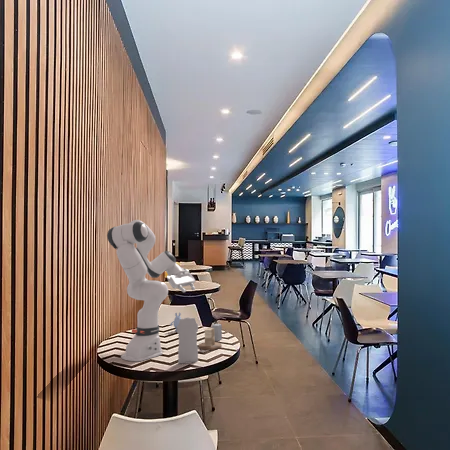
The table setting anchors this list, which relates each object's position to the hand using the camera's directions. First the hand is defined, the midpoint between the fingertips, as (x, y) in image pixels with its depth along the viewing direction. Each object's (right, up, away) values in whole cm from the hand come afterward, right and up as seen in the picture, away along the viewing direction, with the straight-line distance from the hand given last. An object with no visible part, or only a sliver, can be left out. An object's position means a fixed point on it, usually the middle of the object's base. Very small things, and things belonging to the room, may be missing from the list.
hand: (189, 290), depth 235 cm
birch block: (+13, -28, -18) cm, 35 cm away
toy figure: (-9, -30, +20) cm, 38 cm away
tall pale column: (+3, -28, -43) cm, 52 cm away
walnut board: (+13, -29, -18) cm, 36 cm away
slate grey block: (+17, -29, -4) cm, 34 cm away
